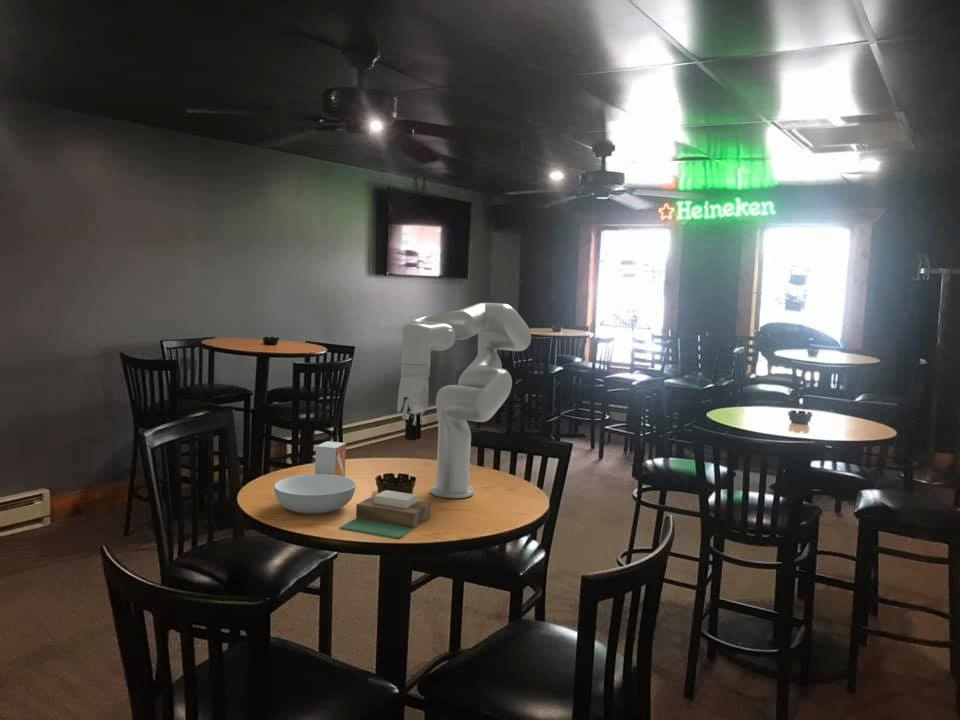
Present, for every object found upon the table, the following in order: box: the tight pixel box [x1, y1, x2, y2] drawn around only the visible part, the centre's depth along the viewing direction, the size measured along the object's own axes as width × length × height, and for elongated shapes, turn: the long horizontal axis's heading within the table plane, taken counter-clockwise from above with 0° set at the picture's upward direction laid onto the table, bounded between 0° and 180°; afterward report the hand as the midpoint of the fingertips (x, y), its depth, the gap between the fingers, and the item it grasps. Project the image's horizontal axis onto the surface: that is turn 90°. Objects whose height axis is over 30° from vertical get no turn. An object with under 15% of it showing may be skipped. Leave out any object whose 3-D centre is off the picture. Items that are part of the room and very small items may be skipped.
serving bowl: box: [273, 473, 357, 515], centre depth 195 cm, size 21×21×7 cm
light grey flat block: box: [374, 489, 418, 508], centre depth 190 cm, size 6×9×2 cm, turn 70°
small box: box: [314, 440, 347, 477], centre depth 215 cm, size 8×6×13 cm
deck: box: [355, 494, 431, 530], centre depth 190 cm, size 10×16×4 cm, turn 70°
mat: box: [339, 518, 414, 539], centre depth 181 cm, size 8×16×1 cm, turn 70°
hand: (412, 438), depth 197 cm, fingers closed
